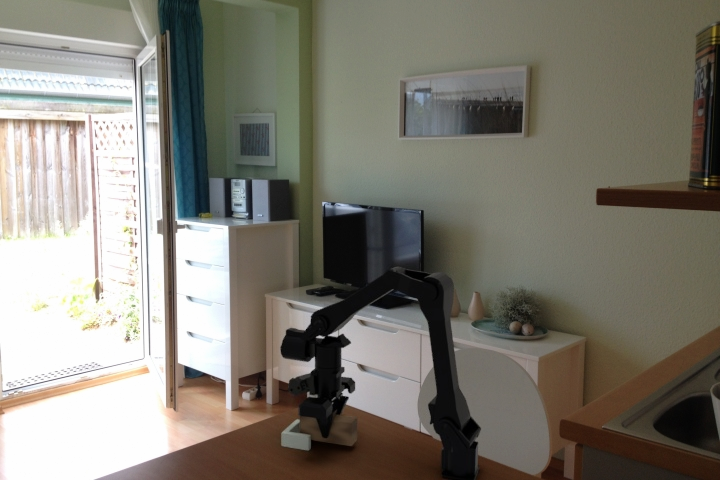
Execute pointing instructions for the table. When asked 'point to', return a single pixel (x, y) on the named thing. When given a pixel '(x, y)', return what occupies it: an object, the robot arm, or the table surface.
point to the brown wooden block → (332, 430)
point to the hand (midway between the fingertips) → (328, 434)
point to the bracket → (295, 437)
